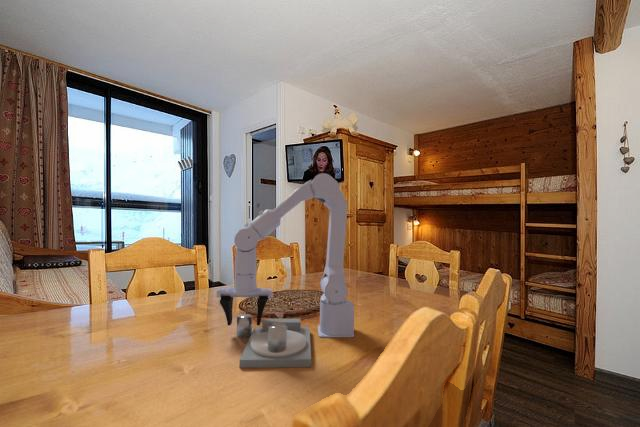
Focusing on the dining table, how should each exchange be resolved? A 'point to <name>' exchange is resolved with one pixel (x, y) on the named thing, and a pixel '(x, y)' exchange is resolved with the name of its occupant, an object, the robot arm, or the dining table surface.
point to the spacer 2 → (277, 337)
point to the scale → (291, 357)
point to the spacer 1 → (244, 325)
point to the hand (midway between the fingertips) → (244, 324)
